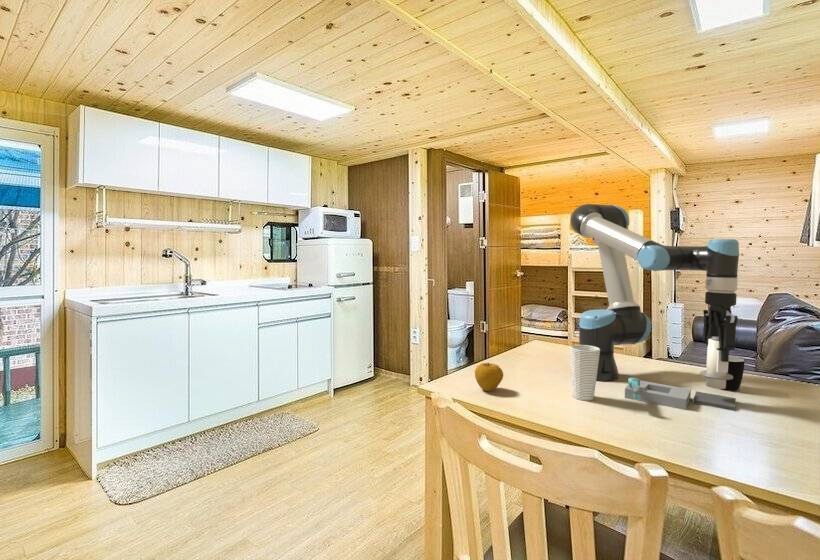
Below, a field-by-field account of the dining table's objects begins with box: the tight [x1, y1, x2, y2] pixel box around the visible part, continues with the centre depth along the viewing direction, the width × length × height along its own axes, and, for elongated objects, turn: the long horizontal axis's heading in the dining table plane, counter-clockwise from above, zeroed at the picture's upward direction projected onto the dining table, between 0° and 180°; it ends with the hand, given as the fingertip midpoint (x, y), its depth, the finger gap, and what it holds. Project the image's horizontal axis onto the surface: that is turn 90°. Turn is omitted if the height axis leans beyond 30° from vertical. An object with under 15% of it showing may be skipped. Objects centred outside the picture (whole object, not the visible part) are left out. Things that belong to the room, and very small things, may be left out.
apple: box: [474, 362, 504, 392], centre depth 140 cm, size 9×9×9 cm
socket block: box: [624, 379, 692, 411], centre depth 134 cm, size 16×12×4 cm
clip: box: [627, 377, 642, 401], centre depth 128 cm, size 17×3×3 cm, turn 156°
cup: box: [569, 344, 600, 402], centre depth 133 cm, size 8×8×16 cm
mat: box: [692, 391, 737, 412], centre depth 131 cm, size 10×10×1 cm
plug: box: [699, 336, 733, 390], centre depth 130 cm, size 8×8×15 cm
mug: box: [720, 355, 745, 392], centre depth 146 cm, size 12×9×10 cm
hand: (716, 369), depth 130 cm, fingers closed on plug, 5 cm apart
